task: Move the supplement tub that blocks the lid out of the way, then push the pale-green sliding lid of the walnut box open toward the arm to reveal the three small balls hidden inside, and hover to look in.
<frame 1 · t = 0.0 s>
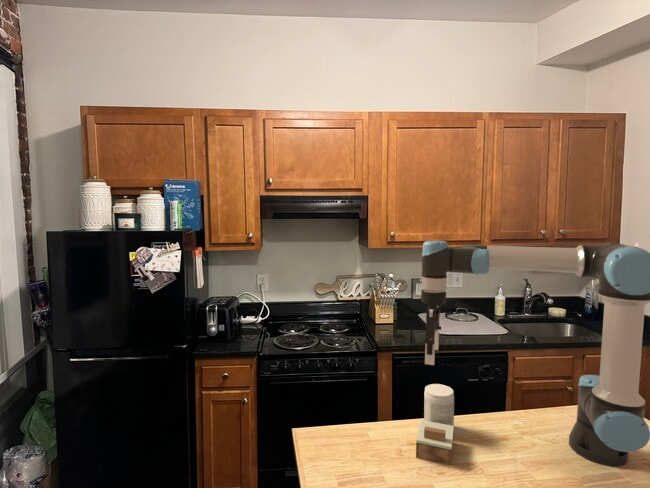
hand: (431, 356, 124), 28 cm above the countertop, fingers open, 13 cm apart
ball c: (434, 456, 117), point 1 cm above the countertop, touching box
box: (435, 452, 120), on the countertop
ball a: (441, 454, 118), point 1 cm above the countertop, touching box
lid: (435, 430, 120), point 7 cm above the countertop, slide at 0.0 cm
supplement tub: (438, 432, 132), on the countertop
ball b: (427, 451, 120), point 1 cm above the countertop, touching box
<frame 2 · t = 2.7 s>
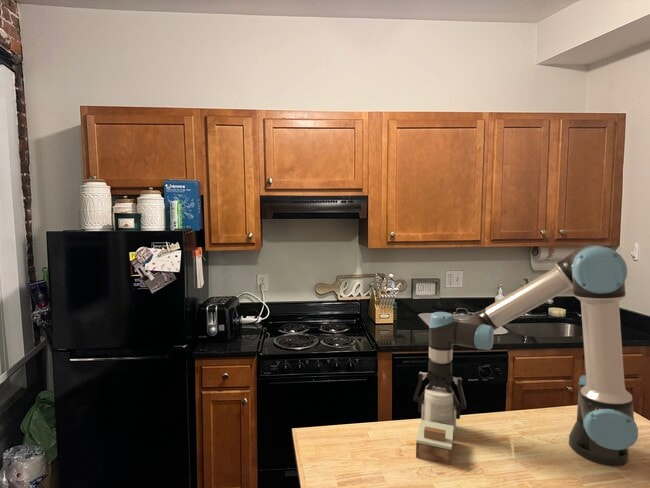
hand: (438, 424, 131), 3 cm above the countertop, fingers closed on supplement tub, 10 cm apart
supplement tub: (438, 432, 132), on the countertop, touching gripper
everything else where it was.
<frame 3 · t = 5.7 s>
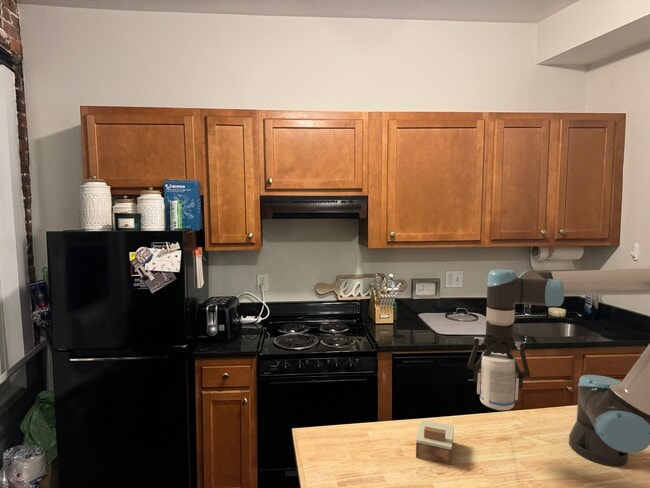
hand: (496, 395, 118), 19 cm above the countertop, fingers closed on supplement tub, 10 cm apart
supplement tub: (496, 404, 118), point 16 cm above the countertop, touching gripper
everything else where it was.
when the fingers open (4 cm above the countertop, at t = 8.9 s): supplement tub stays where it is, on the countertop.
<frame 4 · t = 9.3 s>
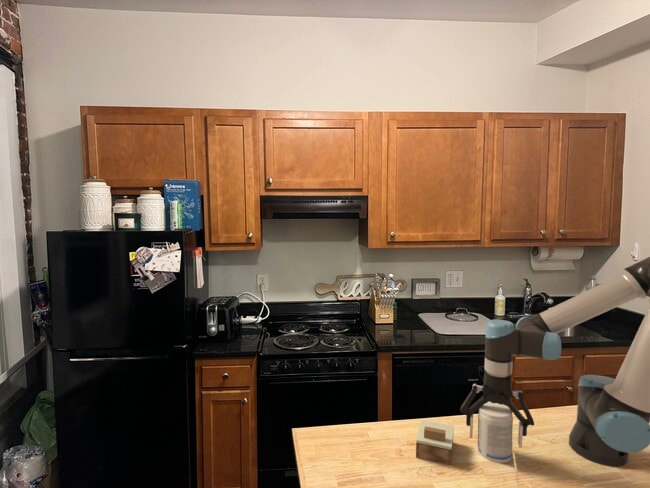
hand: (495, 440, 119), 5 cm above the countertop, fingers open, 13 cm apart
supplement tub: (493, 455, 119), on the countertop
everything else where it was.
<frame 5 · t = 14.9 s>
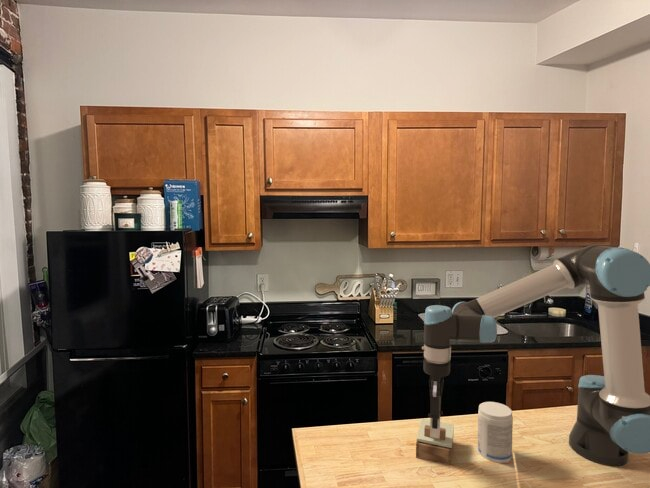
hand: (434, 436, 116), 7 cm above the countertop, fingers closed
lid: (435, 428, 121), point 7 cm above the countertop, slide at 0.9 cm, touching gripper
everything else where it was.
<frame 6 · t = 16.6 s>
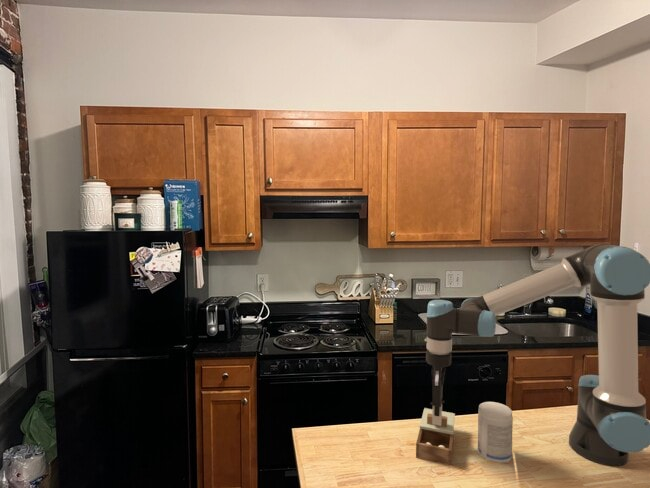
hand: (436, 423, 123), 7 cm above the countertop, fingers closed
lid: (437, 416, 127), point 7 cm above the countertop, slide at 8.2 cm, touching gripper
everything else where it was.
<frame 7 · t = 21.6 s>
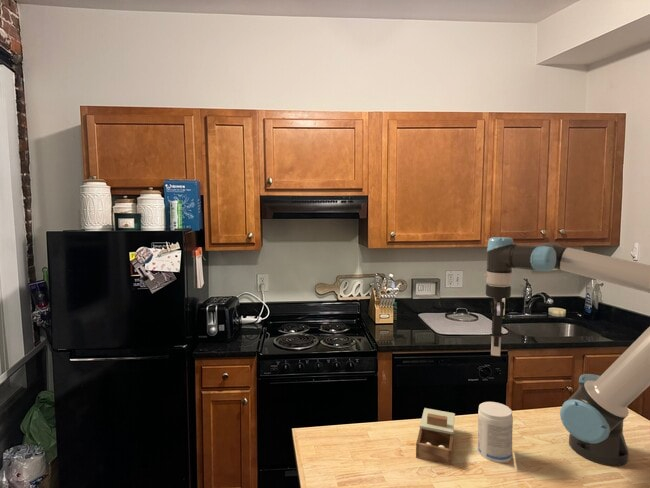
hand: (495, 354, 130), 26 cm above the countertop, fingers closed
lid: (437, 416, 128), point 7 cm above the countertop, slide at 8.2 cm
everything else where it was.
at the end: lid slide at 8.2 cm; supplement tub inside the target area (0.1 cm from its centre), on the countertop; supplement tub tilted 0° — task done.
